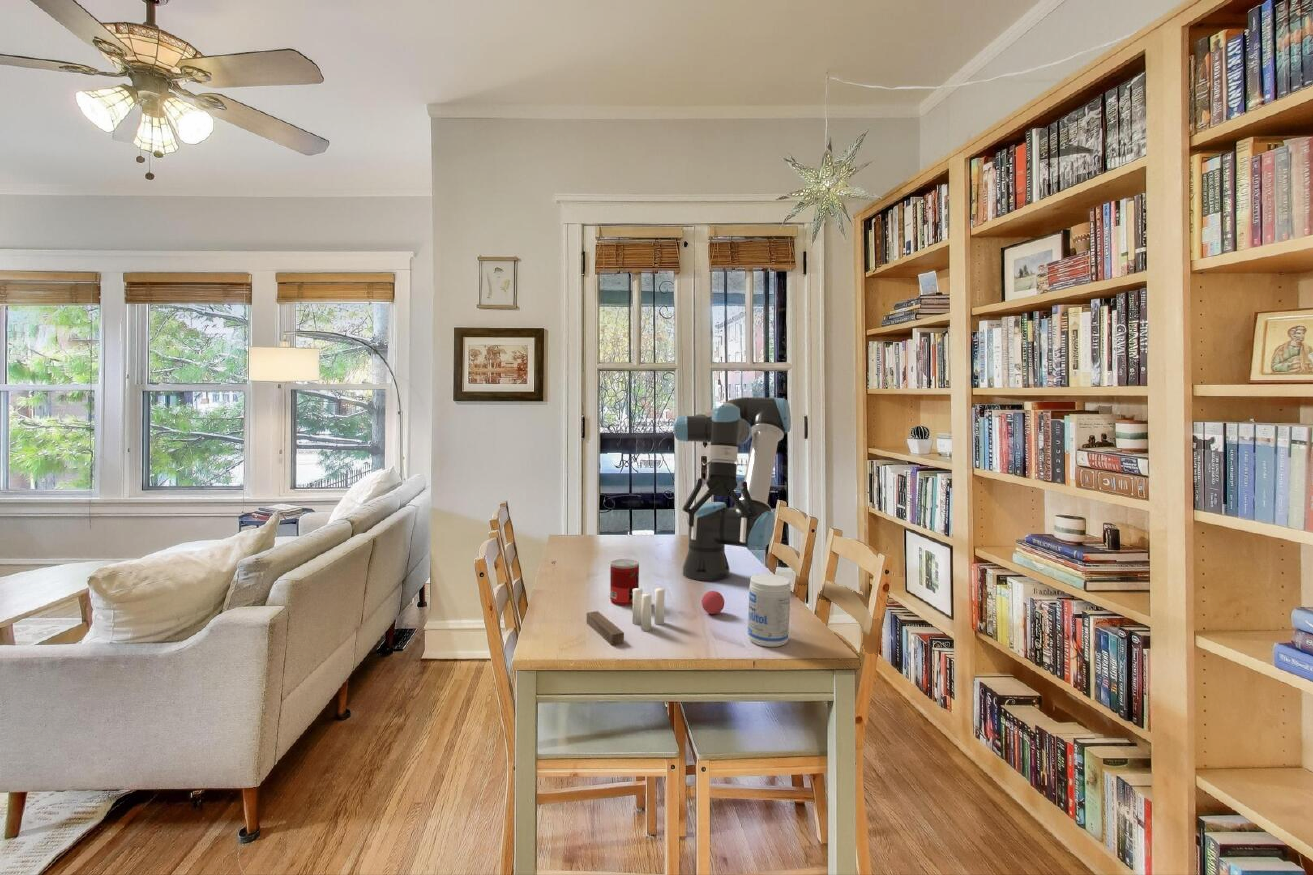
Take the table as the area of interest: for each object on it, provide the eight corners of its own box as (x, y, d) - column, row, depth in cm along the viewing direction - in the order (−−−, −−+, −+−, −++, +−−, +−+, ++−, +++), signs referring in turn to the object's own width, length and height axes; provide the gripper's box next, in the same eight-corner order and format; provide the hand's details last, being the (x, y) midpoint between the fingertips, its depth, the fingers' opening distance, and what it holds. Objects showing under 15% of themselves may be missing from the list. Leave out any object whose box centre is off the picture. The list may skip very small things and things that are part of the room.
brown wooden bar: (597, 620, 158) (597, 611, 158) (623, 643, 144) (623, 632, 144) (586, 622, 156) (586, 612, 156) (611, 645, 142) (612, 634, 142)
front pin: (661, 620, 159) (661, 587, 158) (665, 623, 157) (666, 590, 156) (652, 622, 158) (653, 589, 157) (657, 625, 155) (657, 591, 155)
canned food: (635, 606, 169) (635, 567, 168) (606, 604, 170) (607, 565, 170) (641, 598, 176) (641, 559, 176) (614, 595, 178) (614, 558, 177)
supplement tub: (739, 640, 146) (741, 579, 145) (760, 629, 154) (762, 571, 153) (776, 652, 140) (778, 587, 139) (796, 639, 147) (798, 578, 146)
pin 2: (648, 626, 154) (648, 593, 154) (652, 630, 152) (653, 596, 151) (639, 628, 153) (639, 594, 152) (643, 631, 151) (644, 597, 150)
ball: (716, 608, 168) (716, 586, 168) (728, 615, 163) (729, 592, 163) (697, 611, 166) (697, 589, 165) (709, 618, 160) (709, 596, 160)
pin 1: (639, 620, 159) (639, 587, 158) (643, 623, 156) (644, 590, 156) (630, 621, 157) (631, 588, 157) (634, 624, 155) (635, 591, 155)
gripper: (680, 458, 164) (674, 539, 162) (771, 465, 167) (767, 544, 166) (675, 458, 171) (670, 536, 170) (763, 465, 174) (758, 541, 173)
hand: (718, 540), depth 168 cm, fingers open, 13 cm apart
